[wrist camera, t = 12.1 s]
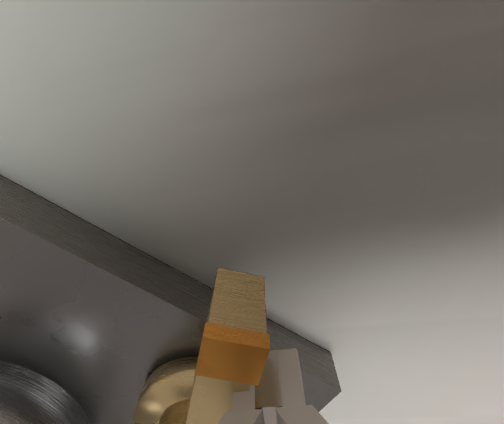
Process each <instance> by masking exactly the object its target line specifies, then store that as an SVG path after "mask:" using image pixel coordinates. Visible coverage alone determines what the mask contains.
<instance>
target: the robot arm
mask: <svg viewBox="0 0 504 424" xmlns="http://www.w3.org/2000/svg"><path fill="white" fill-rule="evenodd" d="M218 424H329V423H328V422H327V421H326V420H325V419H324V418H323V417H322V416H321V414H320V413H319V412H318V411H317V410H316V409H315V408H314V406H313V405H306V402H305V396H304V389H303V383H302V376H301V370H300V363H299V357H298V351H297V349H296V348H293V349H283V350H273V351H269V354H268V357H267V360H266V363H265V366H264V370H263V373H262V376H261V379H260V382H259V385H258V386H256V385H250V389H249V391H242V392H234V393H233V402H232V411H230V412H226V413H225V414H224V415H223V417H222V418H221V420H220V421H219V423H218Z"/></svg>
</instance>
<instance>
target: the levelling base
mask: <svg viewBox="0 0 504 424" xmlns="http://www.w3.org/2000/svg"><path fill="white" fill-rule="evenodd" d="M212 294H213V289H211V288H209V287H207V286H205V285H203V284H202V283H200V282H198V281H196V280H194V279H192V278H190V277H189V276H187V275H185V274H183V273H181V272H179V271H177V270H176V269H174V268H172V267H170V266H168V265H166V264H164V263H163V262H161V261H159V260H157V259H155V258H153V257H151V256H149V255H148V254H146V253H144V252H142V251H140V250H138V249H136V248H135V247H133V246H131V245H129V244H127V243H125V242H123V241H122V240H120V239H118V238H116V237H114V236H112V235H110V234H109V233H107V232H105V231H103V230H101V229H99V228H97V227H95V226H94V225H92V224H90V223H88V222H86V221H84V220H82V219H81V218H79V217H77V216H75V215H73V214H71V213H69V212H68V211H66V210H64V209H62V208H60V207H58V206H56V205H55V204H53V203H51V202H49V201H47V200H45V199H43V198H42V197H40V196H38V195H36V194H34V193H32V192H30V191H28V190H27V189H25V188H23V187H21V186H19V185H17V184H15V183H14V182H12V181H10V180H8V179H6V178H4V177H2V176H1V175H0V424H134V423H133V416H134V411H135V408H136V405H137V402H138V400H139V397H140V394H141V391H142V388H143V386H144V383H145V381H146V380H147V378H148V377H149V376H150V374H151V373H152V372H153V371H155V370H156V369H157V368H159V367H160V366H162V365H164V364H165V363H168V362H170V361H173V360H176V359H180V358H185V357H195V356H198V355H199V350H200V346H201V341H202V337H203V332H204V327H205V323H206V321H207V317H208V312H209V308H210V303H211V298H212ZM266 325H267V334H269V337H270V351H273V350H283V349H293V348H296V349H297V351H298V357H299V363H300V370H301V376H302V383H303V389H304V396H305V402H306V405H313V406H314V408H315V409H316V410H317V411H318V412H319V411H320V410H321V409H322V408H323V407H325V406H326V405H327V404H328V403H329V402H330V401H331V400H332V399H333V398H334V397H335V396H337V395H338V394H339V393H340V392H341V388H340V385H339V381H338V377H337V373H336V370H335V366H334V362H333V359H332V355H331V353H330V352H328V351H326V350H324V349H323V348H321V347H319V346H317V345H315V344H313V343H311V342H310V341H308V340H306V339H304V338H302V337H300V336H298V335H297V334H295V333H293V332H291V331H289V330H287V329H285V328H284V327H282V326H280V325H278V324H276V323H274V322H272V321H270V320H269V319H267V318H266Z"/></svg>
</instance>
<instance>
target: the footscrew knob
mask: <svg viewBox="0 0 504 424" xmlns="http://www.w3.org/2000/svg"><path fill="white" fill-rule="evenodd" d="M269 351H270V337H269V334H267V325H266V303H265V282H264V277H263V276H258V275H253V274H248V273H243V272H238V271H233V270H228V269H223V268H218V271H217V276H216V280H215V285H214V289H213V294H212V298H211V303H210V308H209V312H208V317H207V321H206V323H205V327H204V332H203V337H202V341H201V346H200V350H199V355H198V356H195V357H185V358H180V359H176V360H173V361H170V362H168V363H165V364H164V365H162V366H160V367H159V368H157V369H156V370H155V371H153V372H152V373H151V374H150V376H149V377H148V378H147V380H146V381H145V383H144V386H143V388H142V391H141V394H140V397H139V400H138V402H137V405H136V408H135V411H134V416H133V423H134V424H218V423H219V421H220V420H221V418H222V417H223V415H224V414H225V413H226V412H230V411H232V402H233V393H234V392H242V391H249V389H250V385H256V386H258V385H259V382H260V379H261V376H262V373H263V370H264V366H265V363H266V360H267V357H268V354H269Z"/></svg>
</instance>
